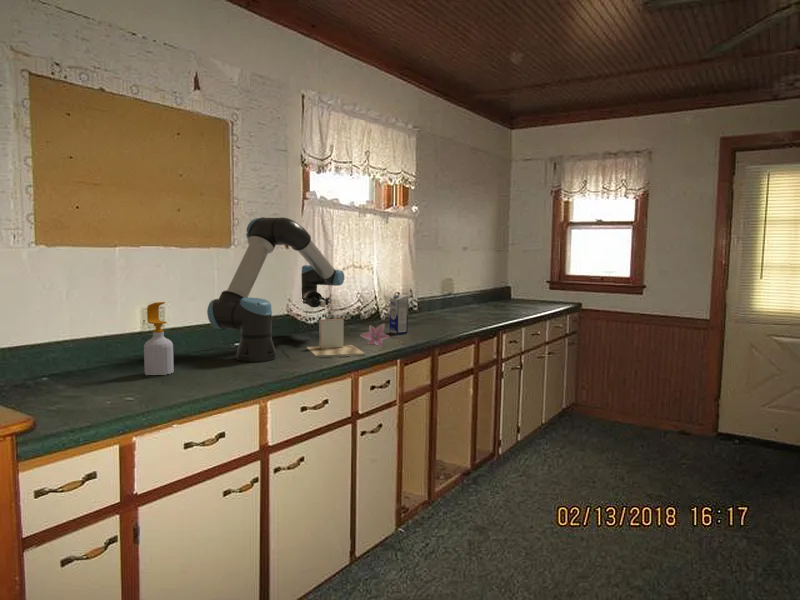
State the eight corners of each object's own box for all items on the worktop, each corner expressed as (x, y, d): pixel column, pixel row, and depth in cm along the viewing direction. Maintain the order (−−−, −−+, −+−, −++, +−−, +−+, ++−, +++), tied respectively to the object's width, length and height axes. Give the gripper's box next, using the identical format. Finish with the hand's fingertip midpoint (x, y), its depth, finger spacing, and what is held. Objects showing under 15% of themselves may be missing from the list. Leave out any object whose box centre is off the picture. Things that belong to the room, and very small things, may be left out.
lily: (357, 347, 252) (357, 330, 246) (373, 335, 260) (373, 318, 254) (378, 358, 246) (378, 341, 241) (394, 345, 254) (394, 328, 249)
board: (315, 358, 220) (315, 355, 220) (306, 349, 239) (306, 347, 239) (364, 356, 227) (364, 353, 227) (351, 347, 246) (351, 344, 245)
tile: (320, 348, 235) (320, 320, 234) (319, 347, 238) (319, 319, 237) (343, 347, 239) (343, 319, 238) (342, 346, 241) (342, 318, 240)
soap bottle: (155, 377, 184) (153, 303, 182) (139, 374, 189) (137, 302, 187) (179, 372, 192) (177, 301, 190) (162, 369, 197) (161, 300, 195)
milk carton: (407, 333, 288) (408, 295, 286) (396, 334, 284) (397, 295, 282) (400, 331, 294) (400, 294, 292) (389, 332, 290) (389, 294, 288)
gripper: (326, 306, 270) (338, 312, 248) (299, 307, 265) (309, 313, 243) (326, 290, 269) (338, 295, 247) (299, 291, 265) (308, 296, 243)
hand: (323, 304), depth 245 cm, fingers closed
